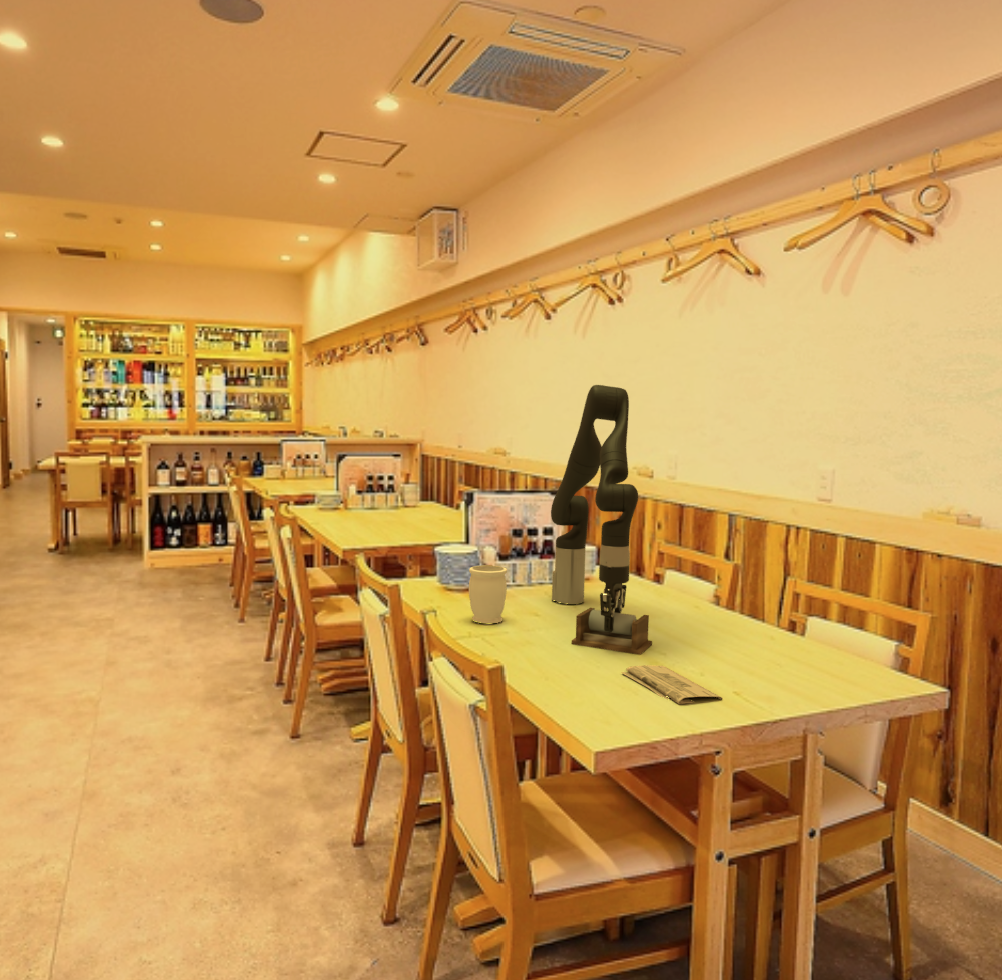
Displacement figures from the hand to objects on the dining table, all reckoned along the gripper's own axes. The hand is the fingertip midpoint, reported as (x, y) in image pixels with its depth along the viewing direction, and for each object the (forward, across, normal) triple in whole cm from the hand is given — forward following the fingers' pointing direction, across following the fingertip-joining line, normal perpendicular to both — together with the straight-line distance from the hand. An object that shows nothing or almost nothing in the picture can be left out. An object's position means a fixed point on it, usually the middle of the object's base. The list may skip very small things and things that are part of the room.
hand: (612, 628), depth 203 cm
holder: (+4, 0, 0) cm, 4 cm away
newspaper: (+5, +24, +21) cm, 33 cm away
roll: (+1, 0, 0) cm, 1 cm away
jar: (+4, -4, -38) cm, 38 cm away
